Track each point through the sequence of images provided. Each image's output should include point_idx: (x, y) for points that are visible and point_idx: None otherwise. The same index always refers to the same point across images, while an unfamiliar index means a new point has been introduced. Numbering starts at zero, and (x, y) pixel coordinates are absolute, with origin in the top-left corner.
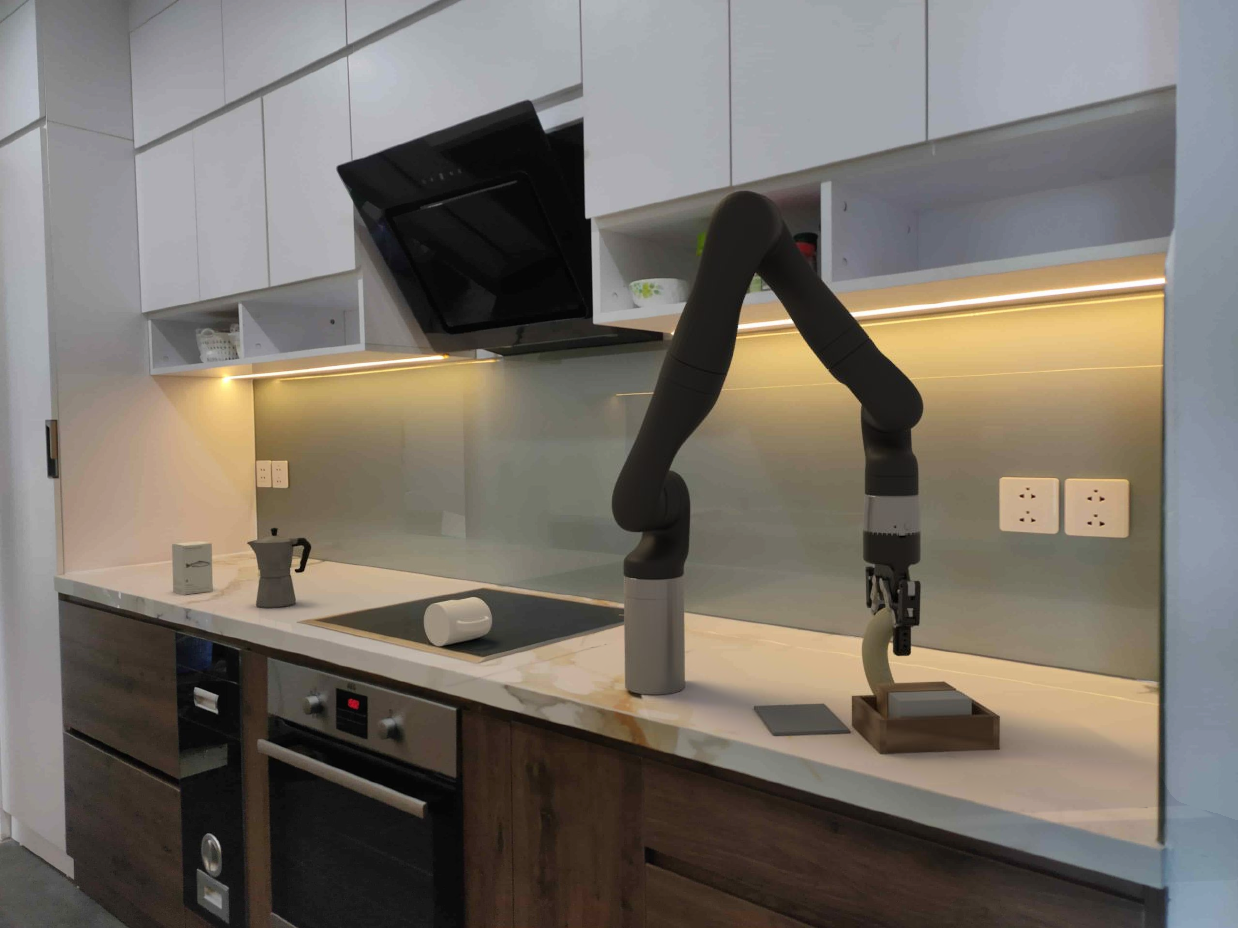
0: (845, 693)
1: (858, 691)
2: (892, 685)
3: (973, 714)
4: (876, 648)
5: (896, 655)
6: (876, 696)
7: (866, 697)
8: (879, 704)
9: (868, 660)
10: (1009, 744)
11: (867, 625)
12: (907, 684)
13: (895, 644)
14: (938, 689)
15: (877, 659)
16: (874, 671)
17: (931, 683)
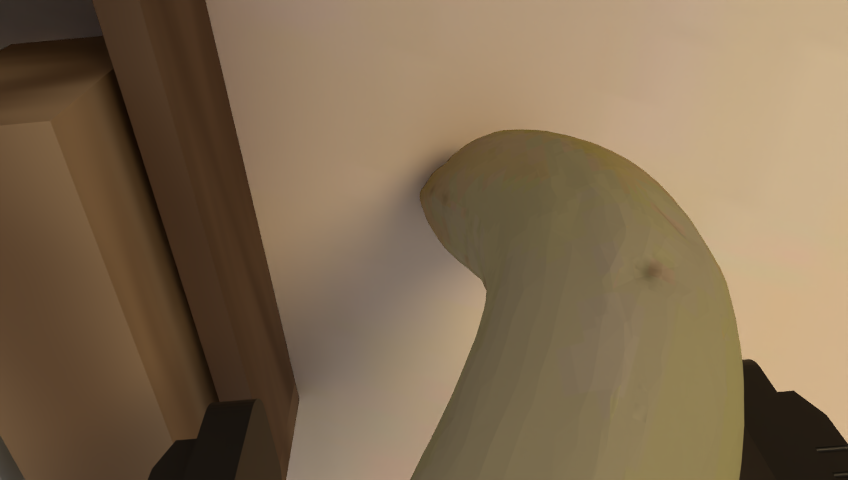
0: (804, 15)
1: (816, 101)
2: (30, 217)
3: None
4: (484, 314)
5: (216, 402)
6: (127, 90)
7: (99, 14)
8: (56, 79)
9: (530, 199)
10: None
11: (632, 418)
12: (78, 311)
13: (184, 475)
14: (9, 434)
15: (487, 265)
16: (490, 198)
17: (133, 432)
